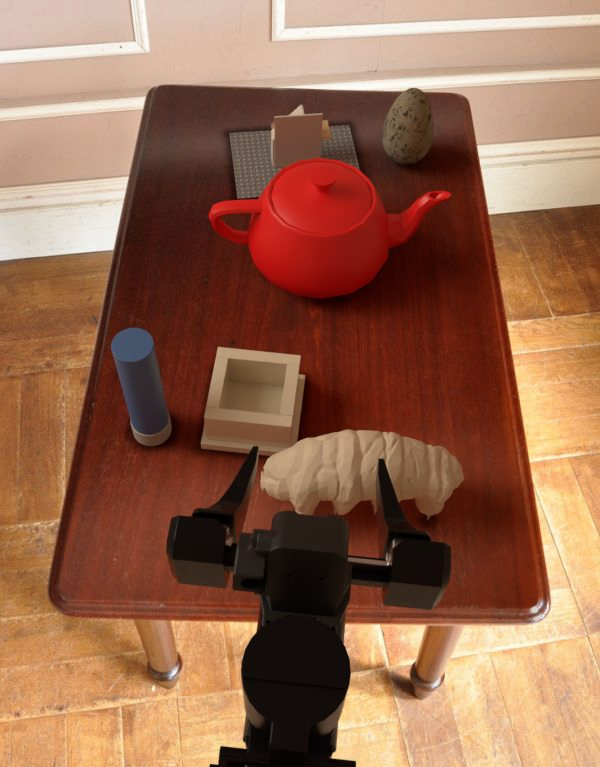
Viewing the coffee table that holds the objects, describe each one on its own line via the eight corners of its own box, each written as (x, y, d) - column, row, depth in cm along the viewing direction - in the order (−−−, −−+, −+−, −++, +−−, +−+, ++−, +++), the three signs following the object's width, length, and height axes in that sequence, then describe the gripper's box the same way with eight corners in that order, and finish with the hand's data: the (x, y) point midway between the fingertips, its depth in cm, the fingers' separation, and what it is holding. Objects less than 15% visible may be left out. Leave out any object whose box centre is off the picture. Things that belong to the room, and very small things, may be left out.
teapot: (211, 315, 90) (203, 234, 80) (213, 208, 99) (206, 123, 89) (446, 310, 91) (468, 231, 81) (428, 205, 100) (445, 121, 90)
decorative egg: (387, 179, 102) (397, 111, 94) (372, 146, 105) (381, 77, 97) (434, 172, 103) (449, 103, 95) (418, 139, 106) (431, 70, 98)
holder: (295, 458, 81) (296, 432, 77) (201, 448, 82) (197, 421, 77) (305, 380, 86) (306, 351, 82) (216, 371, 86) (213, 341, 82)
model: (261, 468, 81) (260, 413, 72) (449, 469, 81) (469, 414, 73) (260, 533, 77) (258, 483, 69) (457, 534, 77) (479, 484, 69)
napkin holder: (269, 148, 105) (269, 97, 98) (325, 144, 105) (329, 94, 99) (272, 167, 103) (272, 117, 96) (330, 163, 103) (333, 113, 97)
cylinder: (167, 448, 81) (149, 365, 70) (129, 444, 82) (105, 360, 70) (175, 415, 83) (158, 328, 72) (137, 411, 84) (115, 324, 72)
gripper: (468, 645, 47) (465, 408, 56) (134, 609, 48) (183, 380, 57) (436, 696, 57) (438, 486, 65) (156, 666, 57) (195, 462, 66)
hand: (318, 454), depth 63 cm, fingers open, 9 cm apart
